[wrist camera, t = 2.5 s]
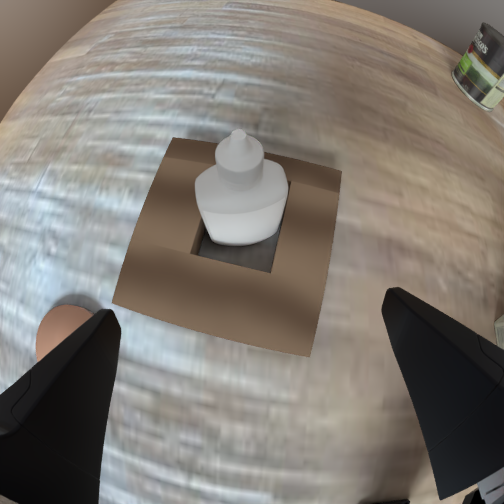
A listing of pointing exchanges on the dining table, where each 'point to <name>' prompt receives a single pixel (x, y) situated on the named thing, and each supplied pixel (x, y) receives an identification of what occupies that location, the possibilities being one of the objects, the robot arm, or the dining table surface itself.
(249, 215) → the eye dropper bottle
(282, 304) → the holder block
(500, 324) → the skincare box
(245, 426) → the dining table surface
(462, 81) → the coffee can
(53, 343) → the terracotta coaster
